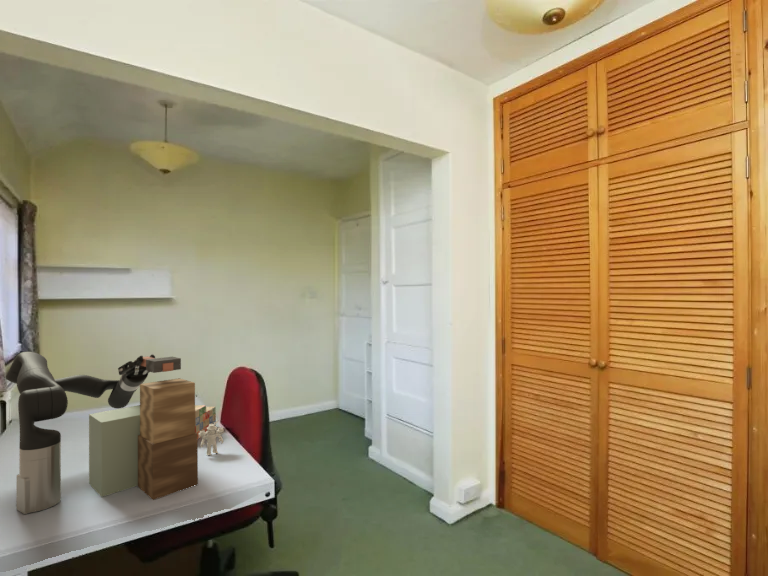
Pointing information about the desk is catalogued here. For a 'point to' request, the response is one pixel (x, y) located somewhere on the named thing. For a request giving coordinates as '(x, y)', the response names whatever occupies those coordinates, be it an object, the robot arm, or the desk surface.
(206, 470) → the desk surface
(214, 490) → the desk surface
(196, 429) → the stack of blocks
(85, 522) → the desk surface
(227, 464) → the desk surface
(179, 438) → the tower
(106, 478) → the upright pale green block
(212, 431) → the cream toy figurine
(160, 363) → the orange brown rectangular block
